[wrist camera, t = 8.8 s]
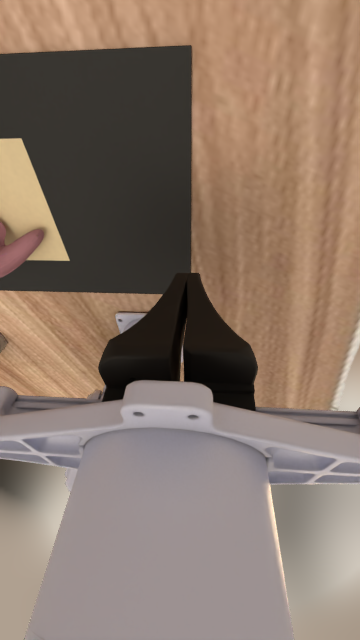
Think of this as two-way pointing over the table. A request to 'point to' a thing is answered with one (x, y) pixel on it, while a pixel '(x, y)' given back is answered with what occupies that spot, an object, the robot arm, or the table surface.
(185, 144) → the desk mat
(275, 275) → the table surface
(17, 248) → the pink curved piece
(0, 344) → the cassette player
